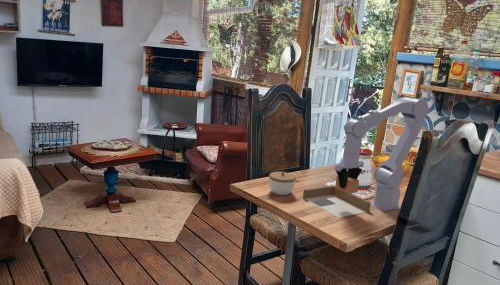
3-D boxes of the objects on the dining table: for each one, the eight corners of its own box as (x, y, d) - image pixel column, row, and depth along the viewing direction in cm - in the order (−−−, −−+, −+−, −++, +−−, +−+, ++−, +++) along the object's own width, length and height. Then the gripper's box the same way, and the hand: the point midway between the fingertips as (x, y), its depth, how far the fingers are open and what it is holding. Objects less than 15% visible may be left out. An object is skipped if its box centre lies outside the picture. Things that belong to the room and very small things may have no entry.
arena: (332, 194, 158) (333, 185, 157) (369, 212, 141) (370, 202, 140) (302, 199, 149) (303, 189, 148) (338, 219, 133) (339, 208, 132)
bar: (334, 187, 142) (336, 176, 141) (342, 186, 145) (344, 175, 144) (349, 193, 137) (351, 182, 136) (357, 192, 139) (359, 180, 138)
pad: (325, 198, 150) (326, 198, 150) (335, 203, 146) (335, 203, 146) (310, 201, 146) (310, 201, 146) (320, 206, 141) (320, 206, 141)
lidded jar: (262, 192, 153) (264, 170, 151) (279, 187, 161) (281, 166, 159) (282, 200, 146) (284, 177, 144) (299, 195, 153) (301, 173, 151)
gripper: (354, 147, 145) (349, 181, 148) (330, 150, 136) (325, 186, 139) (370, 152, 140) (364, 186, 143) (346, 155, 131) (340, 192, 134)
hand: (346, 187), depth 140 cm, fingers closed on bar, 4 cm apart
